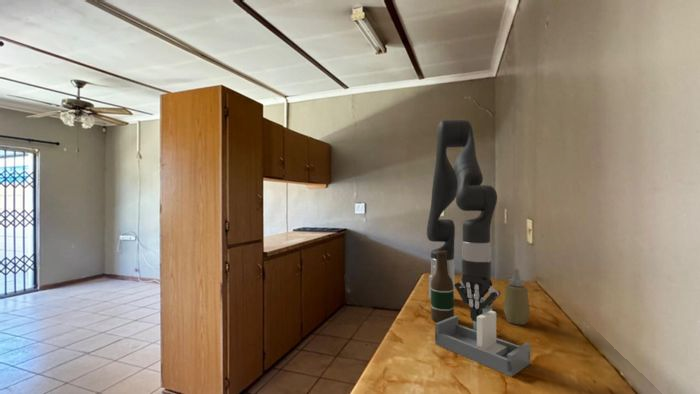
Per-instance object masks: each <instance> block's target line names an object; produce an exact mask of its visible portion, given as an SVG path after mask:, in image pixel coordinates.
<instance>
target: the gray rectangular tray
mask: <svg viewBox="0 0 700 394" xmlns="http://www.w3.org/2000/svg"><path fill="white" fill-rule="evenodd" d="M434 330H435V331H434V332H435V333H434V335H435V336H434V339H435V340H434V341H435V342H434V343H435V345H436V346H439V347H441V348H444V349H446V350H448V351H451V352H452V353H455V354H457V355H460V356H461V357H465V358H466V359H469V360H471V361H473V362H476V363H479V364H480V365H483V366H486V367H488V368H490V369H492V370H494V371H497V372H499V373H501V374H504V375H506V376H508V377H510V378H512V377H514V376H515V375H516V374H517V373H519V372H520V371H522V370H523V369H524V368H526V367H527V366H529V365H530V364H531V343H529V342H525V343H522V344H521V345H518V344H515V343H512V342H509V341H506V340H504V339H500V338H498V337H496V343H499V344H501V345H504V346H507V353H506V354H504V355H503V356H500V355H497V354H495V353H492V352H489V351H487V350H484V349H482V348H479V347H477V331H475V330H473V328H470V327H467V326H464V325H462V324H459V315H455V314H454V316H453V317H450V318H448V319H445V320H443V321H440V322H438V323H437V322H434Z"/></svg>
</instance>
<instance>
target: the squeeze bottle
mask: <svg viewBox="0 0 700 394" xmlns="http://www.w3.org/2000/svg"><path fill="white" fill-rule="evenodd" d="M504 293H505V294H504V300H503V301H504V302H503V312H504V315H505V318H506V321H507V322H508V323H511V324H514V325H518V326H520V325H526V324H527V323H528V320H529V318H530V315H531V311H530V309H531V308H530V303H529V302H530V301H529V293H528V288H527V287H526V286H525V280H524V279H522V278H521V275H520V271H519V268H514V269H513V273H512V277H511V278H509V279H508V284H507V285H505V292H504Z"/></svg>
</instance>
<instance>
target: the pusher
mask: <svg viewBox="0 0 700 394" xmlns="http://www.w3.org/2000/svg"><path fill="white" fill-rule="evenodd" d="M496 338H497V312H496V311H494V310H492V311H489V312H486V313H484V314H482V315H479V316H477V347H479V348H482V349H484V350H487V351H489V352H492V353H495V354H497V355H500V356H503V355H504V354H506V353H507V346H504V345H501V344H499V343H496Z"/></svg>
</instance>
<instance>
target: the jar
mask: <svg viewBox="0 0 700 394" xmlns="http://www.w3.org/2000/svg"><path fill="white" fill-rule="evenodd" d="M485 300H486V299H484V301H485ZM493 307H494V302H493V303H492V304H491V305H490V306H489V307H486V308H483V314H484V313H486V312H489V311H493ZM472 329H473V330H475V331H477V322H475V321H472Z"/></svg>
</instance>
